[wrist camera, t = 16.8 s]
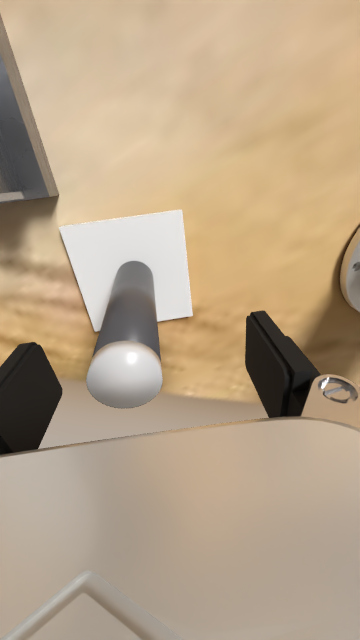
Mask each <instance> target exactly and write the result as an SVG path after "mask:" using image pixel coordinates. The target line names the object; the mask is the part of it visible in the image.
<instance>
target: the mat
mask: <svg viewBox="0 0 360 640" xmlns="http://www.w3.org/2000/svg"><path fill="white" fill-rule="evenodd" d="M59 230H60V233H61V235H62V238H63V241H64V244H65V247H66V250H67V253H68V256H69V259H70V261H71V264H72V267H73V270H74V273H75V276H76V279H77V282H78V284H79V287H80V290H81V293H82V296H83V299H84V302H85V305H86V308H87V310H88V313H89V316H90V319H91V322H92V325H93V328H94V331H95V332H96V331H100V329H101V326H102V322H103V319H104V315H105V312H106V308H107V305H108V302H109V298H110V295H111V291H112V288H113V284H114V281H115V278H116V274H117V271H118V269H119V268H120V266H121V265H123V264H124V263H126V262H128V261H139V262H142V263H144V264H146V265H147V266H148V267H149V268H150V270H151V271H152V274H153V281H154V292H155V303H156V314H157V322H158V321H164V320H170V319H176V318H182V317H189V316H193V314H192V304H191V294H190V284H189V274H188V264H187V254H186V244H185V234H184V224H183V214H182V210H181V209H179V210H172V211H165V212H158V213H151V214H143V215H136V216H129V217H122V218H115V219H107V220H100V221H93V222H86V223H79V224H71V225H64V226H61V227H59Z"/></svg>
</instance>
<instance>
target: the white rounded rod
mask: <svg viewBox="0 0 360 640" xmlns="http://www.w3.org/2000/svg"><path fill="white" fill-rule="evenodd" d="M86 383H87V388H88V390H89V392H90V393H91V395H92V396H93V397H94V398H95V399H96V400H98V401H99V402H101V403H102V404H105V405H107V406H110V407H114V408H133V407H138V406H141V405H143V404H146V403H147V402H149V401H151V400H152V399H153V398H154V397H155V396H156V395H157V394H158V393H159V391H160V389H161V387H162V369H161V358H160V347H159V336H158V325H157V314H156V303H155V292H154V281H153V274H152V271H151V270H150V268H149V267H148V266H147V265H146V264H144V263H142V262H139V261H128V262H126V263H124V264H123V265H121V266H120V268H119V269H118V271H117V274H116V278H115V281H114V284H113V288H112V291H111V295H110V298H109V302H108V305H107V308H106V312H105V315H104V319H103V322H102V326H101V329H100V333H99V336H98V339H97V343H96V346H95V350H94V353H93V357H92V360H91V364H90V367H89V370H88V374H87V378H86Z"/></svg>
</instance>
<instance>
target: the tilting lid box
mask: <svg viewBox="0 0 360 640" xmlns="http://www.w3.org/2000/svg"><path fill="white" fill-rule="evenodd" d="M57 195H59V193H58V190H57V187H56V184H55V181H54V178H53V175H52V172H51V169H50V166H49V163H48V159H47V156H46V153H45V150H44V147H43V144H42V141H41V138H40V135H39V132H38V129H37V126H36V123H35V119H34V116H33V113H32V110H31V107H30V104H29V101H28V98H27V95H26V92H25V89H24V86H23V83H22V79H21V76H20V73H19V70H18V67H17V64H16V61H15V58H14V55H13V52H12V49H11V46H10V43H9V39H8V36H7V33H6V30H5V27H4V24H3V21H2V18H1V15H0V203H7V202H15V201H23V200H30V199H38V198H45V197H52V196H57Z"/></svg>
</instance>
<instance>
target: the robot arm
mask: <svg viewBox="0 0 360 640" xmlns="http://www.w3.org/2000/svg"><path fill="white" fill-rule="evenodd" d="M340 285H341V291H342V294H343V296H344V299H345V300H346V301H347V303H348V304H349V305H350V306H351V307H353V308H354V309H355V310H357V311H358V312H360V227H359V229H358V230H357V232H356V234H355V235H354V237H353V238H352V240H351V242H350V244H349V246H348V248H347V251H346V253H345V255H344V259H343V262H342V266H341V273H340ZM245 364H246V369H247V371H248V373H249V375H250V378H251V380H252V382H253V384H254V386H255V388H256V391H257V393H258V395H259V397H260V399H261V401H262V404H263V406H264V408H265V410H266V412H267V414H268V417H269V418H264V419H254V420H246V421H238V422H229V423H221V424H214V425H206V426H199V427H191V428H184V429H177V430H169V431H162V432H155V433H147V434H140V435H134V436H126V437H120V438H112V439H105V440H98V441H91V442H84V443H77V444H71V445H63V446H56V447H50V448H43V449H38V448H39V445H40V443H41V441H42V439H43V436H44V434H45V432H46V430H47V427H48V425H49V423H50V421H51V419H52V416H53V414H54V412H55V410H56V407H57V405H58V403H59V401H60V398H61V396H62V387H61V385H60V383H59V381H58V379H57V377H56V375H55V373H54V371H53V369H52V367H51V365H50V363H49V361H48V359H47V357H46V355H45V353H44V351H43V349H42V347H41V346H40V345H37V344H36V343H35V342H31V343H24V344H20V345H18V346H17V348H16V349H15V350H14V351H13V352H12V354H11V355H10V356H9V357H8V358H7V360H6V361H5V362H4V363H3V364H2V365H1V367H0V640H360V387H359V386H357V385H356V384H355V383H354V382H352V381H351V380H349V379H347V378H344V377H342V376H338V375H333V374H325V375H321V374H320V373H319V372H318V371H317V369H316V368H315V367H314V366H313V365H312V363H311V362H310V361H309V360H308V359H307V357H306V356H305V355H304V354H303V353H302V351H301V350H300V349H299V348H298V346H297V345H296V344H295V343H294V342H293V340H292V339H291V338H290V337H288V336H285V335H284V334H283V333H282V332H281V330H280V329H279V328H278V327H277V325H276V324H275V323H274V322H273V321H272V319H271V318H270V317H269V316H268V314H267V313H266V312H265V311H257V312H251V314H250V316H247V318H246V353H245Z"/></svg>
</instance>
